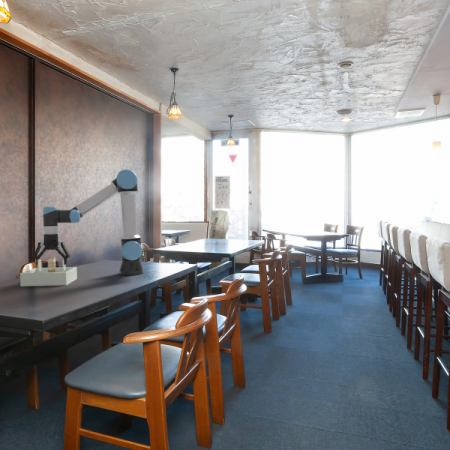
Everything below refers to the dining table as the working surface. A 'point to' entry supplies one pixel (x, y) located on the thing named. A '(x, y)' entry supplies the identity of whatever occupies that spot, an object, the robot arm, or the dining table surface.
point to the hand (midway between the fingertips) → (52, 270)
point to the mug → (45, 265)
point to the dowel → (51, 264)
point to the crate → (48, 277)
